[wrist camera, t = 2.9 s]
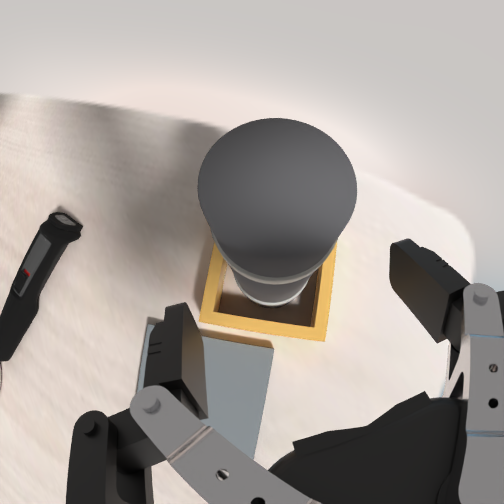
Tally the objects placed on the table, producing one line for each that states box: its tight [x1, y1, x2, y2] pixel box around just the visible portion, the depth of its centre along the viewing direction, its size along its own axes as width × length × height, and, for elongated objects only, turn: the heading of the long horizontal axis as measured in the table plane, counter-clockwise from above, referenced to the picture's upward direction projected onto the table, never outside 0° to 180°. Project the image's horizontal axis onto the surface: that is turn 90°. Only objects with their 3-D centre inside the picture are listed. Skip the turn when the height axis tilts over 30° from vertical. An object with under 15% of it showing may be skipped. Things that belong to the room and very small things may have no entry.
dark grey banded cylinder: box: [198, 118, 357, 308], centre depth 15 cm, size 5×5×14 cm
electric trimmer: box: [0, 212, 83, 361], centre depth 21 cm, size 4×16×3 cm, turn 149°
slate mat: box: [137, 324, 274, 459], centre depth 19 cm, size 9×9×1 cm
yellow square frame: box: [199, 241, 337, 342], centre depth 21 cm, size 8×8×2 cm
